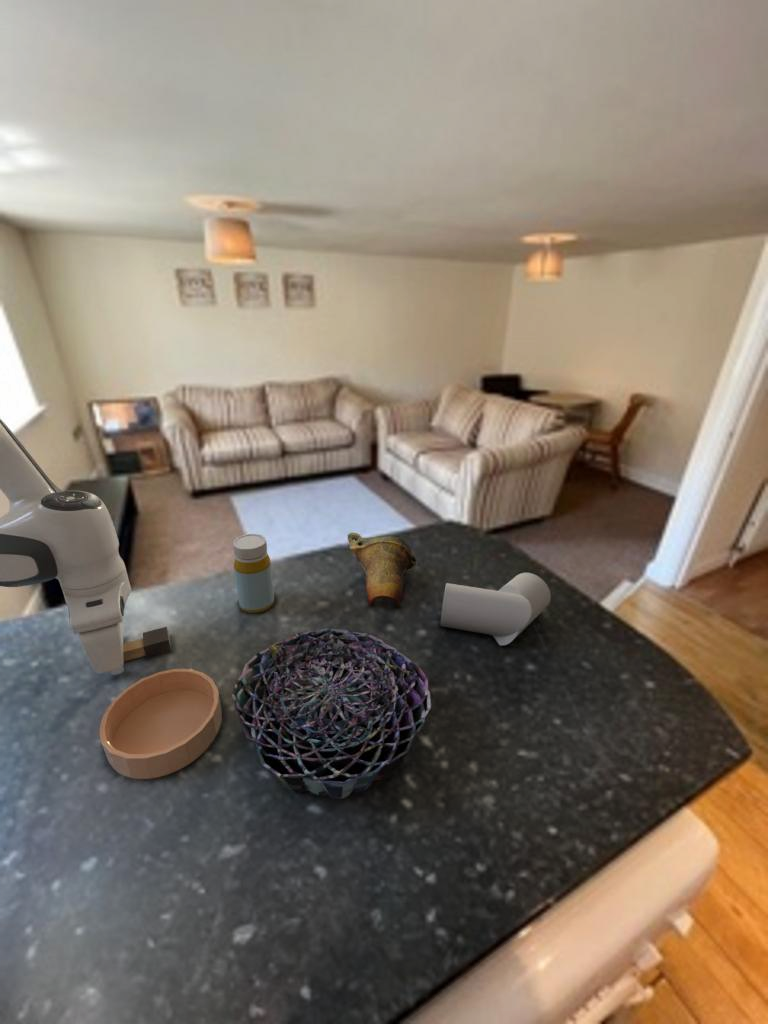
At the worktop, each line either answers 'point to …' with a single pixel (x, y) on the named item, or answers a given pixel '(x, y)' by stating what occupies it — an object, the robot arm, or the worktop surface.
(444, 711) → the worktop surface
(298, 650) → the decorative bowl
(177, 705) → the wash bowl
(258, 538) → the bottle
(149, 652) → the brush
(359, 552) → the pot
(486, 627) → the bent grey cylinder
